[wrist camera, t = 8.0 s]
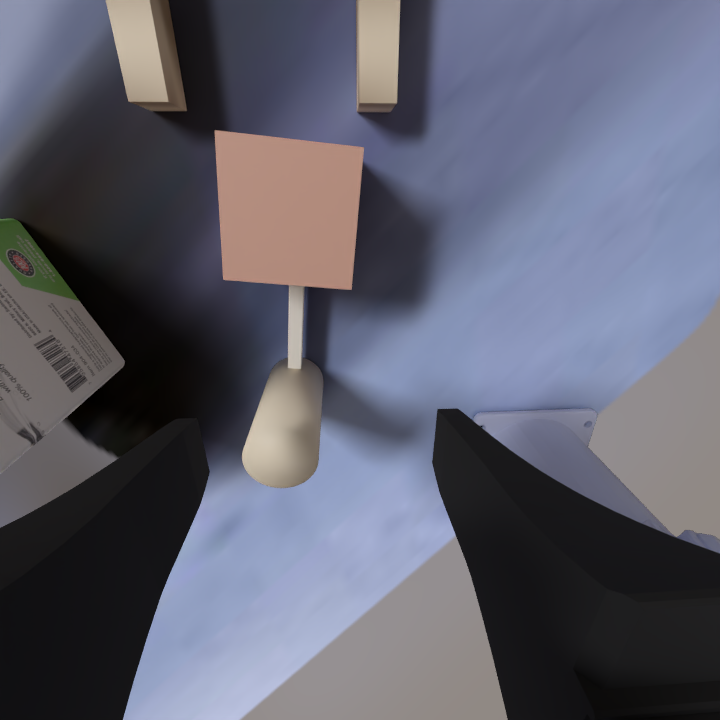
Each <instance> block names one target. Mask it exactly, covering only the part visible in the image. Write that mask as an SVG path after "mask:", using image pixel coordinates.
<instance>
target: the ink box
mask: <svg viewBox="0 0 720 720" xmlns="http://www.w3.org/2000/svg"><path fill="white" fill-rule="evenodd" d="M124 364H125V361H124V359H123V358H122V356H121V355H120V354H119V352H118V351H117V350H116V348H115V347H114V346H113V344H112V343H111V342H110V340H109V339H108V338H107V336H106V335H105V334H104V332H103V331H102V330H101V329H100V327H99V326H98V325H97V323H96V322H95V321H94V319H93V318H92V317H91V316H90V314H89V313H88V312H87V310H86V309H85V308H84V306H83V305H82V304H81V302H80V301H79V300H78V298H77V297H76V296H75V294H74V293H73V292H72V290H71V289H70V288H69V286H68V285H67V284H66V282H65V281H64V280H63V278H62V277H61V276H60V274H59V273H58V272H57V271H56V269H55V268H54V266H53V265H52V264H51V263H50V261H49V260H48V259H47V257H46V256H45V255H44V253H43V252H42V250H41V249H40V248H39V247H38V246H37V244H36V242H35V241H34V240H33V239H32V237H31V236H30V235H29V233H28V232H27V231H26V230H25V228H24V227H23V226H22V224H21V223H20V222H19V221H17V220H15V219H0V474H1V473H2V472H4V471H5V470H6V469H7V468H8V467H9V466H11V465H12V464H13V463H14V462H15V461H16V460H17V459H18V458H20V457H21V456H22V455H23V454H24V453H25V452H27V451H28V450H29V449H30V448H31V447H32V446H33V445H35V444H36V443H37V442H38V441H39V440H41V439H42V438H43V437H44V436H45V435H46V434H47V433H48V432H50V431H51V430H52V429H53V428H54V427H56V426H57V425H58V424H59V423H60V422H61V421H62V420H63V419H65V418H66V417H67V416H68V415H69V414H71V413H72V412H73V411H74V410H75V409H76V408H77V407H78V406H79V405H80V404H82V403H83V402H84V401H85V400H86V399H87V398H88V397H90V396H91V395H92V394H93V393H94V392H95V391H97V390H98V389H99V388H100V387H101V386H102V385H103V384H105V383H106V382H107V381H108V380H109V379H110V378H111V377H112V376H113V375H115V374H116V373H117V372H118V371H119V370H120V369H121V368H122V367H123V366H124Z"/></svg>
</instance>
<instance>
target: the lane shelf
mask: <svg viewBox="0 0 720 720" xmlns="http://www.w3.org/2000/svg"><path fill="white" fill-rule="evenodd" d="M106 3H107V8H108V12H109V17H110V21H111V26H112V30H113V35H114V39H115V44H116V48H117V52H118V57H119V61H120V66H121V70H122V75H123V79H124V84H125V88H126V93H127V97H128V101H129V102H131V103H133V104H136V105H138V106H141V107H143V108H146V109H148V110H151V111H187V107H186V101H185V95H184V89H183V84H182V78H181V72H180V66H179V60H178V54H177V48H176V42H175V36H174V31H173V25H172V19H171V13H170V7H169V1H168V0H106ZM399 24H400V0H356V53H357V112H391V111H392V109H393V108H394V107H395V105H396V104H397V88H398V56H399Z"/></svg>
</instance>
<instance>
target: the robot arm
mask: <svg viewBox="0 0 720 720" xmlns="http://www.w3.org/2000/svg"><path fill="white" fill-rule="evenodd" d="M596 419H597V413H596V412H595V411H594V410H593V409H590V408H585V409H558V410H531V411H504V412H481V413H478V414H476V415H475V416H474V419H473V420H471V419H470V418H469V417H468V416H467V415H465V414H464V413H463V412H461V411H460V410H459V409H438V411H437V421H436V431H435V441H434V451H433V461H432V463H433V467H434V471H435V476H436V480H437V484H438V488H439V492H440V495H441V497H442V500H443V503H444V505H445V508H446V511H447V513H448V516H449V518H450V521H451V524H452V526H453V529H454V531H455V534H456V537H457V539H458V542H459V544H460V547H461V550H462V552H463V555H464V557H465V560H466V563H467V566H468V569H469V572H470V575H471V577H472V581H473V585H474V588H475V592H476V596H477V599H478V603H479V606H480V610H481V613H482V617H483V621H484V625H485V629H486V633H487V636H488V640H489V644H490V647H491V652H492V655H493V659H494V663H495V668H496V672H497V676H498V680H499V685H500V689H501V693H502V697H503V701H504V705H505V709H506V714H507V718H508V720H720V540H719V539H718V538H717V537H715V536H712V535H707V534H702V533H698V534H697V533H695V532H694V531H691V530H685V531H684V532H683V533H682V534H681V535H679V536H678V537H675V536H674V535H672V534H671V533H670V532H669V531H668V530H667V528H666V527H664V526H663V524H662V523H661V522H660V521H659V520H658V519H657V518H656V517H655V516H654V515H653V514H652V513H651V512H650V511H649V510H648V509H647V508H646V507H645V506H644V505H643V504H642V503H641V502H640V501H639V499H638V498H637V497H635V495H634V494H633V493H632V492H631V491H630V490H629V489H628V488H627V487H626V486H625V485H624V484H623V483H622V482H621V481H620V480H619V479H618V478H617V477H616V476H615V475H614V474H613V473H612V472H611V471H610V469H608V468H607V466H606V465H605V464H604V463H603V462H602V461H601V460H600V459H599V458H598V457H597V456H596V455H595V454H594V453H593V452H592V451H591V450H590V449H589V448H588V444H589V441H590V438H591V435H592V432H593V429H594V425H595V422H596ZM587 421H588V422H587ZM586 422H587V423H586ZM585 423H586V424H585ZM481 425H483V427H482V428H481V427H480V426H481ZM209 473H210V471H209V467H208V462H207V458H206V454H205V449H204V445H203V441H202V436H201V432H200V427H199V423H198V419H197V418H183V419H175V420H174V421H172V422H170V423H169V424H167V425H166V426H164V427H163V428H161V429H160V430H158V431H157V432H155V433H154V434H153V435H151V436H150V437H148V438H147V439H146V440H144V441H143V442H141V443H140V444H139V445H137V446H136V447H134V448H133V449H131V450H130V451H129V452H127V453H126V454H124V455H123V456H121V457H120V458H119V459H117V460H116V461H114V462H113V463H111V464H110V465H108V466H107V467H105V468H104V469H102V470H101V471H99V472H98V473H96V474H95V475H93V476H91V477H90V478H88V479H87V480H85V481H84V482H82V483H81V484H79V485H78V486H76V487H74V488H73V489H71V490H69V491H68V492H66V493H64V494H63V495H61V496H59V497H57V498H56V499H54V500H52V501H51V502H49V503H47V504H45V505H43V506H42V507H40V508H38V509H36V510H34V511H33V512H31V513H29V514H27V515H25V516H23V517H22V518H19V519H17V520H15V521H13V522H11V523H9V524H7V525H5V526H3V527H1V528H0V720H123V717H124V713H125V710H126V706H127V702H128V699H129V695H130V692H131V688H132V685H133V681H134V678H135V675H136V671H137V668H138V665H139V662H140V658H141V655H142V652H143V649H144V646H145V642H146V639H147V636H148V633H149V630H150V627H151V624H152V621H153V618H154V615H155V612H156V609H157V606H158V603H159V600H160V597H161V594H162V592H163V589H164V587H165V584H166V582H167V579H168V577H169V574H170V572H171V570H172V568H173V565H174V563H175V561H176V559H177V556H178V554H179V552H180V550H181V547H182V545H183V543H184V541H185V538H186V536H187V534H188V532H189V529H190V527H191V525H192V523H193V520H194V518H195V516H196V513H197V511H198V509H199V506H200V504H201V501H202V497H203V494H204V491H205V487H206V484H207V480H208V476H209Z"/></svg>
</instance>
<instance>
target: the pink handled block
mask: <svg viewBox="0 0 720 720" xmlns="http://www.w3.org/2000/svg"><path fill="white" fill-rule="evenodd" d="M215 145H216V162H217V179H218V197H219V214H220V231H221V248H222V265H223V280H232V281H245V282H258V283H270V284H283V285H289V326H288V358H285V359H283V360H281V361H279V362H278V363H277V364H276V365H275V366H274V367H273V368H272V370H271V372H270V375H269V378H268V381H267V383H266V386H265V389H264V392H263V395H262V398H261V400H260V403H259V406H258V409H257V412H256V415H255V417H254V420H253V423H252V426H251V429H250V432H249V434H248V437H247V440H246V443H245V446H244V449H243V452H242V462H243V465H244V467H245V469H246V471H247V472H248V474H249V475H250V476H251V477H252V478H253V479H255V480H256V481H258V482H260V483H261V484H264V485H266V486H270V487H275V488H288V487H294V486H297V485H299V484H302V483H304V482H305V481H307V480H308V479H309V478H310V477H311V476H312V475H313V474H314V472H315V471H316V469H317V466H318V460H319V444H320V429H321V413H322V397H323V375H322V373H321V371H320V369H319V368H318V366H317V365H316V364H314V363H313V362H312V361H310V360H308V359H305V358H302V349H303V319H304V289H305V286H308V287H321V288H333V289H346V290H352V279H353V267H354V256H355V244H356V233H357V221H358V210H359V198H360V187H361V175H362V164H363V152H364V147H356V146H347V145H338V144H330V143H321V142H312V141H304V140H295V139H286V138H278V137H269V136H260V135H252V134H243V133H235V132H226V131H217V130H215Z"/></svg>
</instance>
